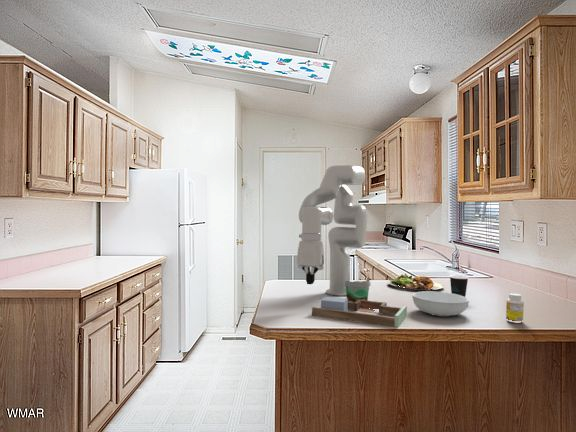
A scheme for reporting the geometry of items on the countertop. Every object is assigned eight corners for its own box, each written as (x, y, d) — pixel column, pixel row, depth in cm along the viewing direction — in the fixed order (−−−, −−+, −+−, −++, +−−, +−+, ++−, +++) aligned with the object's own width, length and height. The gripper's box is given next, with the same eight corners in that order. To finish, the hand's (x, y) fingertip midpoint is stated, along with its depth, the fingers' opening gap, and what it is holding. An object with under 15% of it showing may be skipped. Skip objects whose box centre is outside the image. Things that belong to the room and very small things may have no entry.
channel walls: (331, 303, 182) (332, 296, 182) (406, 312, 169) (406, 304, 169) (311, 315, 162) (312, 307, 162) (394, 326, 149) (394, 318, 149)
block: (325, 310, 172) (325, 296, 171) (347, 312, 169) (347, 298, 168) (320, 314, 165) (320, 300, 165) (343, 316, 162) (343, 302, 162)
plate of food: (378, 283, 233) (379, 272, 232) (423, 281, 240) (424, 270, 240) (406, 295, 206) (406, 283, 205) (455, 292, 213) (456, 280, 213)
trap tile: (361, 308, 175) (361, 307, 175) (381, 310, 171) (381, 310, 171) (358, 310, 170) (358, 310, 170) (378, 313, 167) (378, 312, 167)
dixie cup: (466, 299, 193) (467, 275, 193) (469, 303, 185) (470, 278, 185) (447, 298, 195) (448, 274, 195) (449, 302, 187) (450, 277, 187)
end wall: (403, 315, 163) (403, 305, 163) (406, 316, 163) (406, 305, 163) (394, 326, 149) (394, 315, 148) (398, 327, 148) (398, 315, 148)
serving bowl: (463, 324, 154) (463, 305, 153) (405, 315, 165) (405, 297, 164) (472, 312, 171) (473, 295, 171) (419, 305, 182) (420, 288, 182)
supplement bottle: (508, 319, 161) (508, 292, 160) (524, 322, 157) (525, 294, 157) (504, 322, 156) (505, 294, 156) (521, 325, 153) (522, 296, 153)
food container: (352, 307, 176) (353, 283, 176) (344, 304, 182) (344, 280, 181) (376, 304, 182) (376, 281, 182) (367, 301, 187) (367, 278, 187)
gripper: (290, 237, 170) (289, 283, 170) (325, 238, 164) (324, 286, 164) (298, 236, 177) (296, 280, 177) (332, 238, 170) (331, 284, 170)
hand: (310, 283), depth 170 cm, fingers closed
